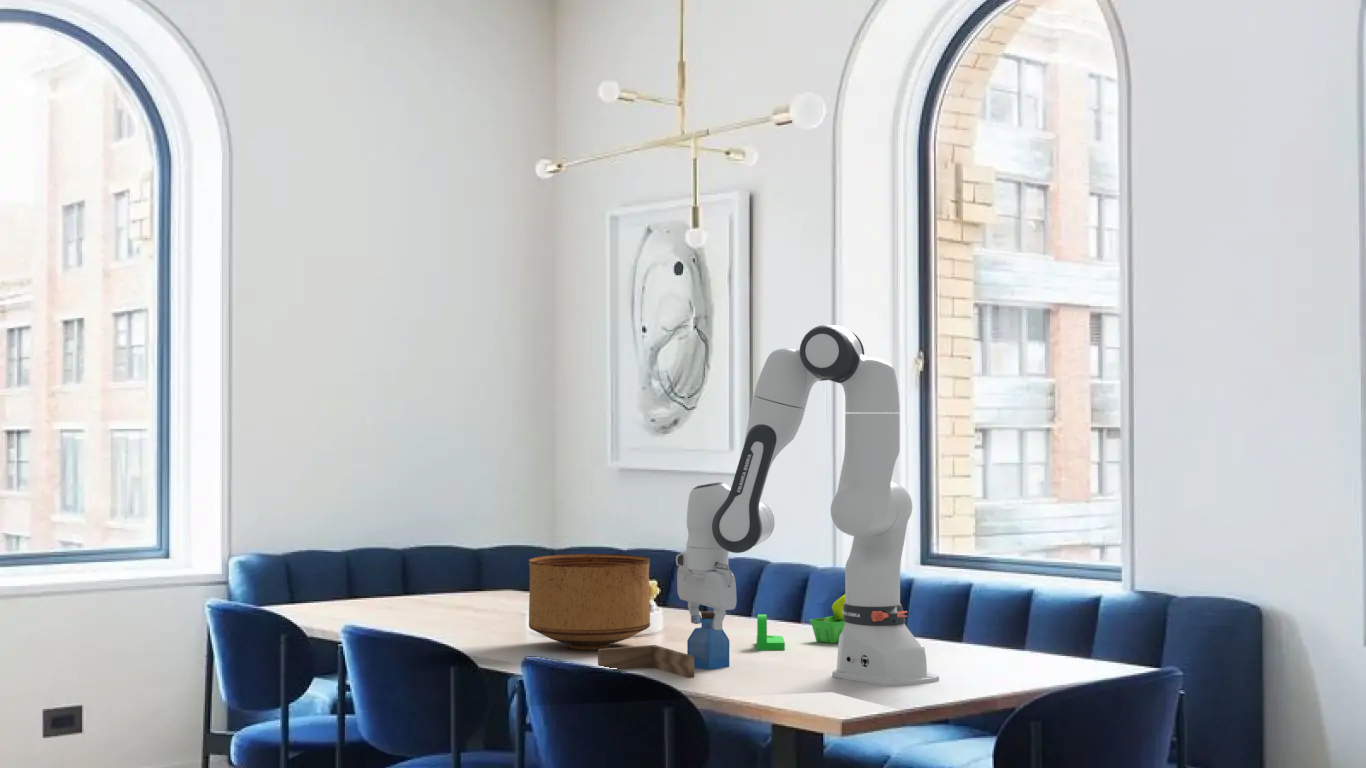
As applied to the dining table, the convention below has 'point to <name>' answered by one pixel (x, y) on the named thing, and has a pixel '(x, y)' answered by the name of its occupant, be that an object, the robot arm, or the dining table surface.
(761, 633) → the mechanical part
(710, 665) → the perfume bottle
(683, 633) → the dining table surface
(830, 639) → the fruit basket
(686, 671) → the l-shaped wooden board
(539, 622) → the pot
